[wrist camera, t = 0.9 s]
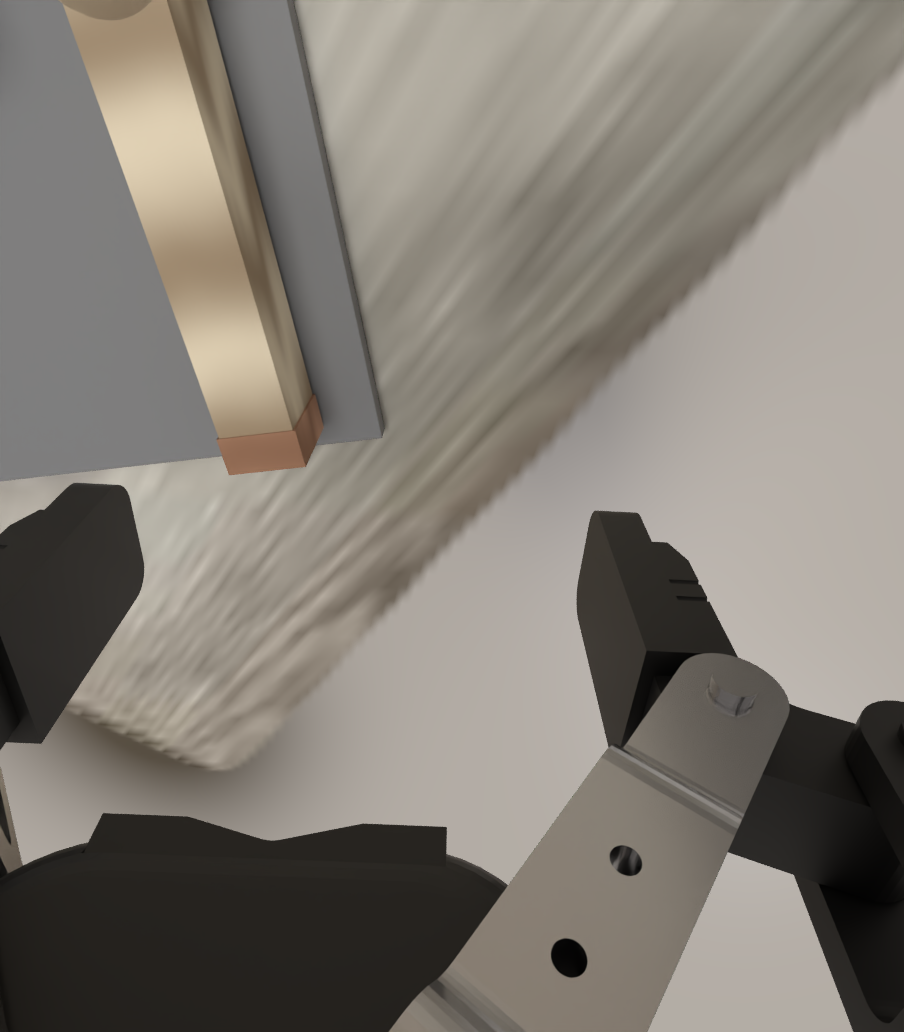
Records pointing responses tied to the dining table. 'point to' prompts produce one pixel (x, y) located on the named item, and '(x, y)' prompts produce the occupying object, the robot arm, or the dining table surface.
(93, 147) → the base plate
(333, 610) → the dining table surface
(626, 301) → the dining table surface
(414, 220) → the dining table surface
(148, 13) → the brass latch lever
